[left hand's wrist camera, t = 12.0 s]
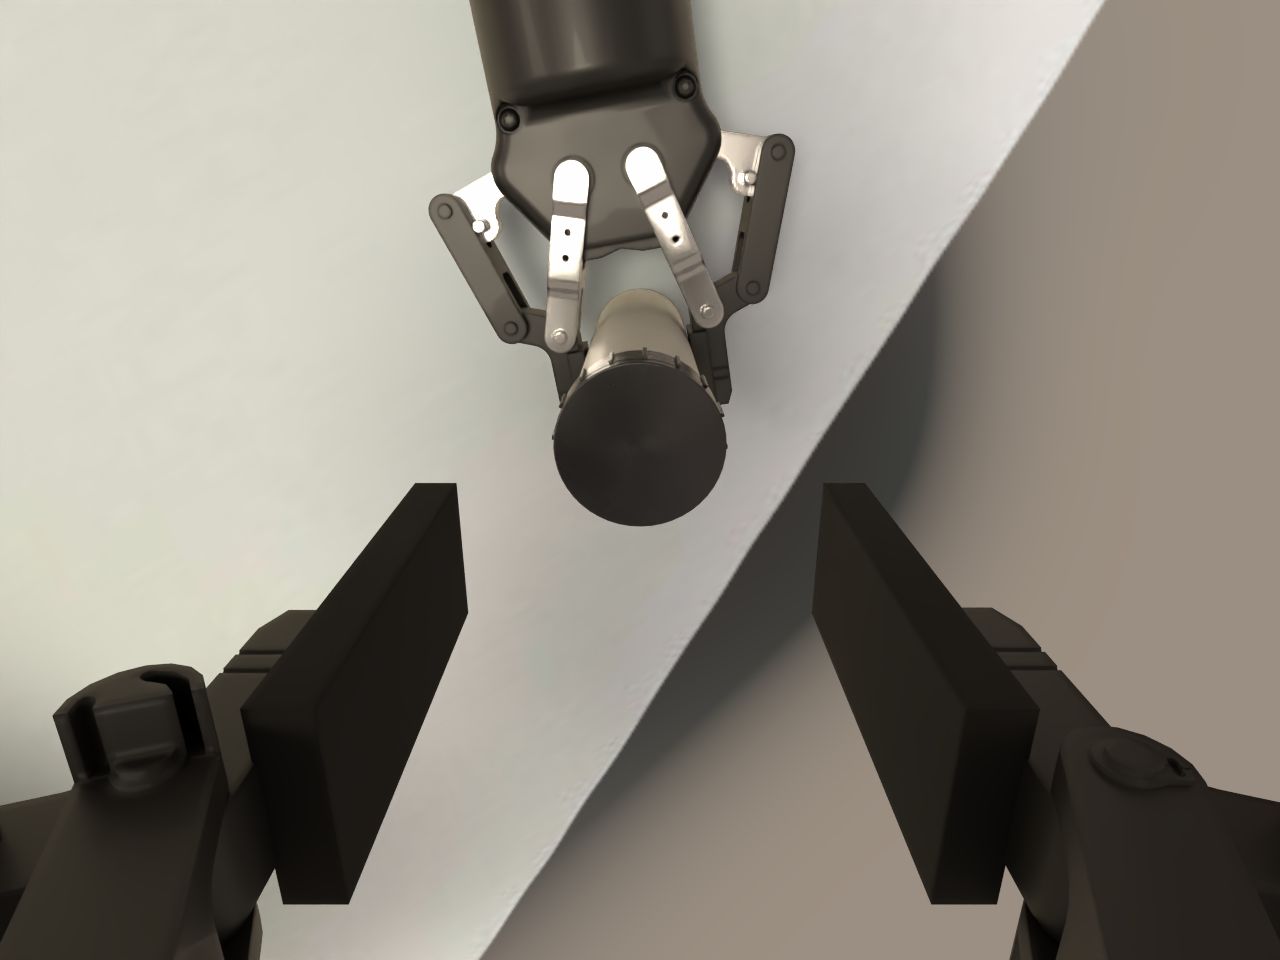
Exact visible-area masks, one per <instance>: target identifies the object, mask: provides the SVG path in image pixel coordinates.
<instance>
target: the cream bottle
mask: <svg viewBox="0 0 1280 960" xmlns="http://www.w3.org/2000/svg"><path fill="white" fill-rule="evenodd" d="M643 347H647V350H649V351H655V352H661V353H664V354H667V355H670V356H672V357H674V358H675V356H676V355H677V356H679V358H680V360H681V361H682V362H684V363H685V364H687V365H688V366H690V367H691V368H692V369H693V370H695V371H696V372H697V373H698V374H699V372H698V368H697V365H696V362H695V359H694V356H693V353H692V350H691V347H690V344H689V341H688V338H687V335H686V332H685V329H684V326H683V323H682V320H681V317H680V314H679V312H678V311H677V309H676V307H675V306H674V305H673V304H672V303H671V302H670V301H669V300H668V299H667V298H666V297H664V296H663V295H661V294H659V293H657V292H654V291H651V290H647V289H633V290H629V291H626V292H623V293H621V294H619V295H617V296H616V297H614V298H613V299H612V300H611V301H610V302H609V303H608V304H607V305H606V306H605V308H604V309H603V311H602V312H601V315H600V317H599V320H598V323H597V326H596V329H595V332H594V335H593V338H592V341H591V344H590V347H589V350H588V353H587V356H586V359H585V362H584V365H583V368H585V369H586V370H587V369H588V368H589V367H590V366H592V365H593V364H595V363H596V362H598V361H599V360H601V359H603V358H605V357H607V356H609V354H610V352H614V354H616V353H620V352H625V351H631V350H643ZM583 368H582V369H583Z"/></svg>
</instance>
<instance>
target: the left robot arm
mask: <svg viewBox="0 0 1280 960" xmlns="http://www.w3.org/2000/svg"><path fill="white" fill-rule="evenodd" d="M467 614H468V606H467V595H466V584H465V573H464V562H463V550H462V539H461V528H460V517H459V506H458V495H457V484H456V483H415V484H414V485H413V487H412V488H411V489H410V491H409V492H408V493H407V494H406V496H405V497H404V498H403V500H402V501H401V502H400V503H399V505H398V506H397V507H396V509H395V510H394V511H393V512H392V514H391V515H390V516H389V518H388V519H387V520H386V521H385V523H384V524H383V525H382V527H381V528H380V529H379V530H378V532H377V533H376V534H375V536H374V537H373V538H372V539H371V541H370V542H369V543H368V545H367V546H366V547H365V548H364V550H363V551H362V552H361V554H360V555H359V556H358V557H357V559H356V560H355V561H354V563H353V564H352V565H351V566H350V568H349V569H348V570H347V572H346V573H345V574H344V575H343V577H342V578H341V579H340V581H339V582H338V583H337V584H336V586H335V587H334V588H333V590H332V591H331V592H330V593H329V595H328V596H327V597H326V599H325V600H324V601H323V602H322V604H321V605H320V606H319V608H318V609H317V610H288V611H286V612H285V613H283V614H282V615H280V616H278V617H277V618H275V619H273V620H272V621H270V622H268V623H267V624H265V625H264V626H262V627H260V628H259V629H258V630H257V631H256V632H255V633H254V634H253V635H252V637H251V638H250V639H249V640H248V641H247V642H246V643H245V645H244V646H243V647H242V648H241V649H240V650H239V651H240V652H239V655H235V656H234V657H233V658H232V659H231V661H230V662H229V663H228V664H227V665H226V666H225V667H224V671H223V673H219V674H218V675H217V676H216V678H215V679H214V680H213V681H212V682H211V683H210V684H209V686H208V687H207V688H206V687H205V682H204V678H203V675H202V674H200V673H199V672H198V671H196V670H195V669H193V668H192V667H189V666H183V665H177V664H159V665H147V666H142V667H138V668H134V669H130V670H126V671H122V672H119V673H116V674H113V675H111V676H109V677H106V678H104V679H102V680H99V681H97V682H95V683H92V684H90V685H88V686H87V687H85V688H84V689H82V690H81V691H79V692H78V693H76V694H75V695H73V696H71V697H70V698H68V699H67V700H66V701H65V702H64V703H63V704H62V706H61V707H60V708H59V709H58V710H57V711H56V712H55V713H54V715H53V719H54V722H55V725H56V728H57V731H58V734H59V737H60V740H61V743H62V746H63V749H64V752H65V755H66V759H67V762H68V765H69V768H70V771H71V774H72V777H73V780H74V785H73V787H72V789H71V790H70V791H66V792H63V793H58V794H54V795H49V796H44V797H40V798H35V799H30V800H25V801H21V802H16V803H11V804H7V805H2V806H0V960H259V959H260V951H261V942H262V933H263V932H262V925H261V919H260V913H259V909H258V905H257V900H258V898H259V896H260V895H261V893H262V891H263V889H264V887H265V885H266V883H267V882H268V880H269V878H270V876H271V874H272V872H273V871H274V869H275V870H276V874H277V879H278V883H279V888H280V892H281V897H282V901H283V904H349V902H350V900H351V897H352V895H353V892H354V890H355V887H356V885H357V883H358V880H359V878H360V875H361V873H362V870H363V868H364V866H365V863H366V861H367V858H368V856H369V853H370V851H371V848H372V846H373V844H374V841H375V839H376V836H377V834H378V831H379V829H380V827H381V824H382V822H383V819H384V817H385V814H386V812H387V809H388V807H389V805H390V802H391V800H392V797H393V795H394V792H395V790H396V788H397V785H398V783H399V780H400V778H401V775H402V773H403V770H404V768H405V766H406V763H407V761H408V758H409V756H410V753H411V751H412V749H413V746H414V744H415V741H416V739H417V736H418V734H419V731H420V729H421V727H422V724H423V722H424V719H425V717H426V714H427V712H428V710H429V707H430V705H431V702H432V700H433V697H434V695H435V692H436V690H437V688H438V685H439V683H440V680H441V678H442V675H443V673H444V671H445V668H446V666H447V663H448V661H449V658H450V656H451V653H452V651H453V649H454V646H455V644H456V641H457V639H458V636H459V634H460V632H461V629H462V627H463V624H464V622H465V619H466V617H467ZM812 614H813V617H814V619H815V622H816V624H817V627H818V629H819V632H820V634H821V636H822V639H823V641H824V644H825V646H826V649H827V651H828V653H829V656H830V658H831V661H832V663H833V666H834V668H835V670H836V673H837V675H838V678H839V680H840V683H841V685H842V687H843V690H844V692H845V695H846V697H847V700H848V702H849V705H850V707H851V710H852V712H853V714H854V717H855V719H856V722H857V724H858V726H859V729H860V731H861V734H862V736H863V739H864V741H865V744H866V746H867V749H868V751H869V753H870V756H871V758H872V761H873V763H874V766H875V768H876V770H877V773H878V775H879V778H880V780H881V783H882V785H883V787H884V790H885V792H886V795H887V797H888V800H889V802H890V805H891V807H892V809H893V812H894V814H895V817H896V819H897V822H898V824H899V827H900V829H901V831H902V834H903V836H904V839H905V841H906V843H907V846H908V848H909V851H910V853H911V856H912V858H913V861H914V863H915V865H916V868H917V870H918V873H919V875H920V878H921V880H922V883H923V885H924V887H925V890H926V892H927V895H928V897H929V900H930V902H931V904H997V901H998V897H999V892H1000V888H1001V883H1002V879H1003V874H1004V870H1005V865H1006V867H1007V869H1008V870H1009V872H1010V874H1011V876H1012V878H1013V879H1014V881H1015V883H1016V885H1017V887H1018V889H1019V891H1020V892H1021V894H1022V896H1023V898H1024V901H1023V905H1022V909H1021V914H1020V918H1019V922H1018V926H1017V930H1016V934H1015V939H1014V943H1013V947H1012V951H1011V955H1010V960H1280V802H1276V801H1271V800H1266V799H1261V798H1257V797H1252V796H1247V795H1242V794H1237V793H1233V792H1228V791H1223V790H1219V789H1215V788H1212V787H1208V786H1207V784H1206V782H1205V780H1204V779H1203V778H1202V776H1201V775H1200V774H1199V772H1198V771H1197V770H1196V768H1195V767H1194V766H1193V765H1192V764H1191V763H1190V762H1189V761H1187V760H1186V759H1185V758H1183V757H1182V756H1181V755H1179V754H1178V753H1177V752H1175V751H1174V750H1173V749H1171V748H1169V747H1167V746H1165V745H1163V744H1161V743H1159V742H1157V741H1155V740H1153V739H1151V738H1149V737H1147V736H1145V735H1141V734H1138V733H1135V732H1131V731H1128V730H1124V729H1121V728H1117V727H1111V726H1110V725H1109V724H1108V723H1107V722H1106V721H1105V719H1104V718H1103V717H1102V716H1101V715H1100V714H1099V713H1098V712H1097V710H1096V709H1095V708H1094V707H1093V706H1092V705H1091V704H1090V702H1089V701H1088V700H1087V699H1086V698H1085V697H1084V696H1083V695H1082V693H1081V692H1080V691H1079V690H1078V689H1077V688H1076V687H1075V685H1074V684H1073V683H1072V682H1071V681H1070V680H1069V679H1068V678H1067V676H1066V675H1065V674H1064V673H1063V672H1062V671H1061V670H1057V665H1056V664H1055V663H1054V662H1053V661H1052V660H1051V658H1050V657H1049V656H1048V655H1047V654H1046V653H1045V652H1041V647H1040V646H1039V645H1038V644H1037V642H1036V641H1035V640H1034V639H1033V638H1032V637H1031V636H1030V635H1029V633H1028V632H1027V631H1026V630H1025V629H1024V628H1023V627H1022V626H1021V625H1019V624H1018V623H1016V622H1014V621H1013V620H1011V619H1010V618H1008V617H1006V616H1005V615H1003V614H1001V613H1000V612H998V611H996V610H995V609H993V608H961V606H960V605H959V604H958V602H957V601H956V600H955V599H954V597H953V596H952V595H951V593H950V592H949V591H948V590H947V588H946V587H945V586H944V584H943V583H942V582H941V581H940V579H939V578H938V577H937V575H936V574H935V573H934V572H933V570H932V569H931V568H930V566H929V565H928V564H927V563H926V561H925V560H924V559H923V557H922V556H921V555H920V554H919V552H918V551H917V550H916V548H915V547H914V546H913V545H912V543H911V542H910V541H909V539H908V538H907V537H906V536H905V534H904V533H903V532H902V530H901V529H900V528H899V527H898V525H897V524H896V523H895V521H894V520H893V519H892V518H891V516H890V515H889V514H888V512H887V511H886V510H885V509H884V507H883V506H882V505H881V503H880V502H879V501H878V500H877V498H876V497H875V496H874V494H873V493H872V492H871V491H870V489H869V488H868V487H867V485H866V484H865V483H824V484H823V495H822V507H821V517H820V529H819V539H818V551H817V562H816V573H815V584H814V595H813V606H812Z"/></svg>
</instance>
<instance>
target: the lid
mask: <svg viewBox="0 0 1280 960" xmlns="http://www.w3.org/2000/svg"><path fill="white" fill-rule="evenodd" d="M559 408H561V411H560V413H559V416H558V420H557V423H556V426H555V430H554V432H553V435H552V440H554V456H555V461H556V465H557V469H558V471H559V474H560V476H561V479H562V480H563V482H564V484H565V486H566V487H567V489H568V490H569V492H570V493H571V494H572V495H573V497H574V498H575V499H576V500H577V501H578V502H579V503H580V504H581V505H583V506H584V507H585V508H586V509H588V510H589V511H590V512H592V513H594V514H596V515H597V516H599V517H601V518H603V519H606V520H608V521H611V522H614V523H618V524H622V525H628V526H652V525H658V524H663V523H666V522H669V521H672V520H674V519H677V518H679V517H681V516H683V515H685V514H686V513H688V512H689V511H691V510H692V509H694V508H695V507H696V506H697V505H699V504H700V503H701V502H702V501H703V500H704V499H705V498H706V497H707V496H708V494H709V493H710V491H711V490H712V489H713V487H714V486H715V484H716V482H717V480H718V479H719V476H720V474H721V471H722V469H723V465H724V461H725V456H726V449H727V447H728V445H727V442H726V432H725V427H724V423H723V420H722V417H724V413H723V410H722V408H721V405H720V402H718V403H716V400H715V398H714V396H713V394H712V392H711V390H710V388H709V387H708V384H707V381H706V378H705V376H704V375H701V376H700V375H699V374H698V373H697V372H696V371H695V370H693V369H692V368H691V367H690V366H688V365H687V364H685V363H684V362H682V361H681V360H680V358H679V356H677V355H676V356H675V358H674V357H672V356H670V355H667V354H664V353H661V352H655V351H649V350H647V347H643V350H631V351H625V352H620V353H616V354H614V352H610V354H609V356H607V357H605V358H603V359H601V360H599V361H598V362H596V363H595V364H593V365H592V366H590V367H589V368H588V369H587V370H586V369H585V368H583V369H582V370H581V373H580V376H579V377H578V379H577V380H576V381H575V382H574V384H573V385H572V387H571V388H570V390H569V391H568V394H564V395H563V397H562V400H561V402H560V405H559Z"/></svg>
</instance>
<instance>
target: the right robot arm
mask: <svg viewBox="0 0 1280 960" xmlns="http://www.w3.org/2000/svg"><path fill="white" fill-rule="evenodd" d="M469 1H470V6H471V11H472V15H473V20H474V25H475V30H476V34H477V39H478V44H479V48H480V53H481V58H482V62H483V67H484V72H485V77H486V81H487V86H488V91H489V95H490V100H491V105H492V109H493V114H494V119H495V124H496V146H495V151H494V154H493V157H492V162H491V173H489V174H488V175H486V176H484V177H482V178H481V179H479V180H477V181H475V182H474V183H472V184H470V185H468V186H467V187H465V188H463V189H461V190H459V191H458V192H456V193H454V194H439V195H437V196H435V197H434V198H433V199H432V200H431V202H430V204H429V215H430V218H431V220H432V222H433V223H434V225H435V227H436V229H437V230H438V232H439V234H440V236H441V237H442V239H443V241H444V243H445V244H446V246H447V248H448V250H449V251H450V253H451V255H452V257H453V258H454V260H455V262H456V264H457V265H458V267H459V269H460V271H461V272H462V274H463V276H464V278H465V279H466V281H467V283H468V285H469V286H470V288H471V290H472V292H473V293H474V295H475V297H476V298H477V300H478V302H479V304H480V305H481V307H482V309H483V311H484V312H485V314H486V316H487V318H488V319H489V321H490V323H491V325H492V326H493V328H494V330H495V332H496V333H497V335H498V337H499V338H500V339H501V340H502V341H503V342H505V343H508V344H516V343H523V344H528V345H534V346H538V347H540V348H542V349H543V350H545V351H546V352H547V354H548V355H549V357H550V359H551V362H552V367H553V372H554V376H555V381H556V386H557V391H558V395H559V400H560V402H561V400H562V397H563V395H564V394H568V391H569V390H570V388H571V387H572V385H573V384H574V382H575V381H576V380H577V379H578V377H579V376H580V373H581V370H582V368H583V365H584V362H585V359H586V356H587V353H588V350H589V347H588V342H587V341H585V342H582V339H581V334H580V326H581V315H582V304H583V293H584V285H585V278H586V268H587V260H592V259H598V258H602V257H604V256H606V255H608V254H611V253H613V252H615V251H617V250H619V249H632V250H642V251H644V250H649V249H655V248H662V250H663V252H664V255H665V257H666V259H667V261H668V263H669V266H670V268H671V270H672V272H673V274H674V276H675V279H676V281H677V283H678V285H679V287H680V289H681V292H682V294H683V296H684V298H685V300H686V303H687V305H688V309H689V316H690V323H691V324H689V325H686V328H687V335H688V341H689V344H690V347H691V350H692V353H693V356H694V359H695V362H696V365H697V368H698V372H699V375H700V376H701V375H704V376H705V378H706V381H707V384H708V387H709V388H710V390H711V392H712V394H713V396H714V398H715V400H716V403H718V402H720V405H722V404H728V403H729V400H730V396H731V392H732V387H731V380H730V372H729V364H728V356H727V349H726V341H725V333H724V329H725V324H726V322H727V320H728V318H729V317H730V316H731V315H732V314H733V313H735V312H736V311H738V310H740V309H742V308H744V307H745V306H747V305H749V304H756V303H759V302H761V301H762V300H763V299H764V298H765V297H766V296H767V293H768V290H769V285H770V280H771V275H772V270H773V264H774V259H775V254H776V249H777V244H778V238H779V233H780V228H781V223H782V218H783V212H784V207H785V202H786V197H787V192H788V186H789V181H790V176H791V171H792V166H793V161H794V155H795V147H794V144H793V142H792V140H791V139H790V138H789V137H788V136H786V135H784V134H773V135H770V136H767V137H762V136H755V135H749V134H742V133H735V132H729V131H722V130H721V129H720V126H719V123H718V121H717V119H716V118H715V116H714V115H713V114H712V112H711V111H710V109H709V108H708V106H707V104H706V102H705V100H704V97H703V94H702V90H701V85H700V77H699V69H698V61H697V54H696V46H695V38H694V30H693V22H692V14H691V6H690V0H469ZM716 159H719V160H721V161H723V162H724V163H725V164H726V166H727V168H728V170H729V183H730V186H731V188H732V190H733V191H734V192H735V193H737V194H739V195H742V196H745V197H744V203H743V208H742V214H741V220H740V226H739V231H738V237H737V243H736V249H735V254H734V260H733V266H732V271H731V273H730V274H728V275H727V276H725V277H723V278H721V279H720V280H718V281H716V282H714V283H713V282H712V280H711V277H710V275H709V273H708V271H707V268H706V266H705V263H704V261H703V258H702V256H701V253H700V251H699V249H698V247H697V244H696V242H695V240H694V237H693V235H692V233H691V231H690V228H689V226H688V224H687V222H686V219H687V217H688V215H689V213H690V211H691V209H692V207H693V205H694V203H695V201H696V199H697V197H698V195H699V193H700V191H701V189H702V187H703V185H704V183H705V180H706V178H707V176H708V174H709V172H710V170H711V168H712V166H713V164H714V162H715V160H716ZM504 198H506V199H507V200H508V201H509V202H510V203H511V204H512V205H513V206H514V207H515V208H516V209H517V210H518V211H519V212H520V213H521V214H522V215H523V216H524V217H525V218H526V219H527V220H528V221H529V222H531V223H532V224H533V225H534V226H535V227H536V228H537V229H538V230H539V231H540V232H541V233H542V234H543V235H544V236H545V237H546V238H547V239H548V240H549V241H550V252H549V266H548V279H547V289H548V297H547V310H546V311H545V310H540V309H534V308H530V306H529V304H528V302H527V300H526V299H525V297H524V295H523V293H522V291H521V290H520V288H519V286H518V284H517V282H516V280H515V279H514V277H513V275H512V273H511V271H510V270H509V268H508V266H507V264H506V262H505V260H504V259H503V257H502V255H501V253H500V251H499V250H498V248H497V246H496V244H495V242H494V240H495V239H496V238H497V237H498V236H499V235H500V233H501V231H502V221H501V218H500V216H499V206H500V203H501V201H502V200H503V199H504Z"/></svg>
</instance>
